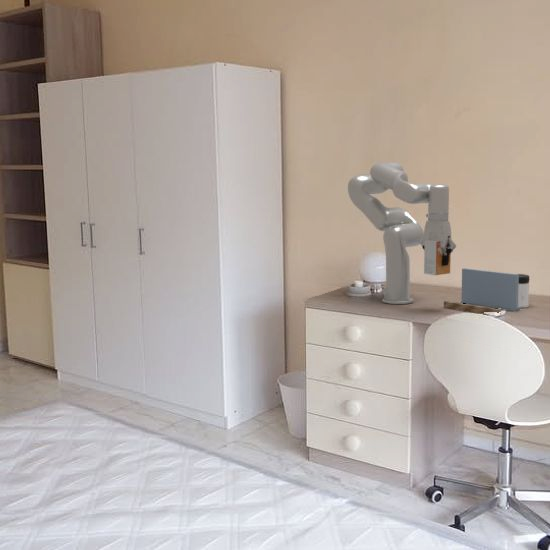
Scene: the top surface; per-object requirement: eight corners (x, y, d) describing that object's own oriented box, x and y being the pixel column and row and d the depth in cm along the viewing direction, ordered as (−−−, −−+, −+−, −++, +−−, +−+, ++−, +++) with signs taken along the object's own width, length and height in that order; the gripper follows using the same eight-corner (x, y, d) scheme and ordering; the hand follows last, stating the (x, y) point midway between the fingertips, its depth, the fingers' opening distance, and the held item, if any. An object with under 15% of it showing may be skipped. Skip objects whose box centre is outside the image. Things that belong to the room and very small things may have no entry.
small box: (435, 275, 269) (436, 241, 267) (423, 273, 275) (424, 239, 272) (450, 273, 274) (451, 239, 272) (438, 271, 279) (439, 238, 277)
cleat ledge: (443, 307, 280) (443, 301, 280) (445, 307, 281) (445, 300, 281) (498, 316, 262) (498, 310, 262) (500, 316, 263) (500, 309, 263)
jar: (512, 308, 275) (513, 277, 273) (501, 304, 283) (502, 274, 281) (533, 307, 277) (534, 276, 275) (522, 303, 285) (522, 273, 283)
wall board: (461, 303, 288) (461, 268, 286) (465, 302, 290) (466, 267, 288) (515, 311, 270) (516, 274, 268) (519, 310, 272) (520, 273, 270)
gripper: (413, 217, 274) (412, 263, 278) (451, 219, 262) (450, 268, 265) (425, 215, 279) (424, 260, 282) (463, 218, 266) (462, 265, 270)
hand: (437, 263), depth 274 cm, fingers closed on small box, 6 cm apart
